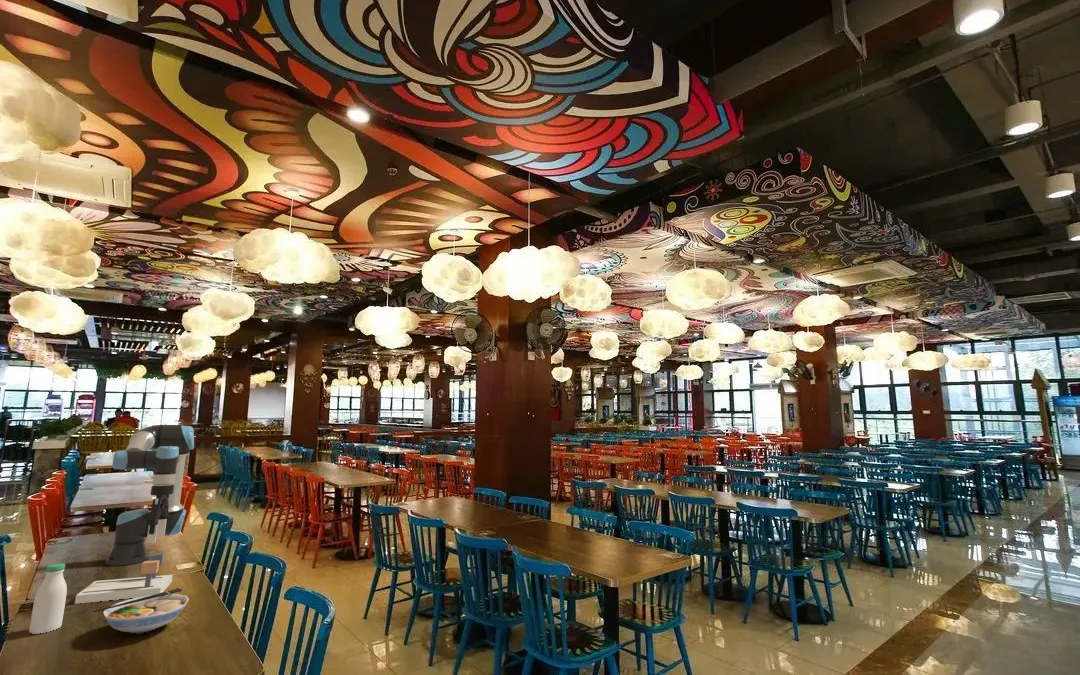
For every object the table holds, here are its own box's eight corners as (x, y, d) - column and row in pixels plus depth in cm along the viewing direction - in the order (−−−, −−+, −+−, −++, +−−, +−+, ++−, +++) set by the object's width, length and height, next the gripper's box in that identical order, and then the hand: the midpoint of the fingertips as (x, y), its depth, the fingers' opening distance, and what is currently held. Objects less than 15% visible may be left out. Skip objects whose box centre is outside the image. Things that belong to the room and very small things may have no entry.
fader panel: (94, 588, 204) (95, 580, 204) (171, 582, 214) (172, 574, 215) (74, 604, 188) (76, 595, 188) (159, 596, 198) (160, 587, 198)
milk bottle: (67, 627, 168) (77, 563, 171) (37, 636, 160) (49, 569, 164) (52, 623, 170) (62, 560, 173) (22, 632, 163) (34, 566, 166)
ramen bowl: (111, 652, 151) (116, 622, 152) (83, 633, 163) (87, 606, 164) (202, 624, 172) (205, 599, 173) (171, 610, 184) (174, 586, 185)
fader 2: (141, 585, 199) (144, 561, 201) (156, 584, 201) (159, 560, 203) (138, 587, 197) (142, 563, 198) (154, 586, 199) (157, 562, 200)
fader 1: (147, 576, 210) (150, 554, 211) (161, 575, 212) (164, 553, 213) (144, 579, 207) (147, 555, 209) (159, 577, 209) (162, 554, 211)
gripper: (160, 481, 218) (153, 533, 215) (142, 488, 196) (134, 546, 192) (181, 481, 221) (174, 532, 218) (166, 487, 199) (158, 545, 195)
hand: (155, 539), depth 205 cm, fingers open, 13 cm apart
